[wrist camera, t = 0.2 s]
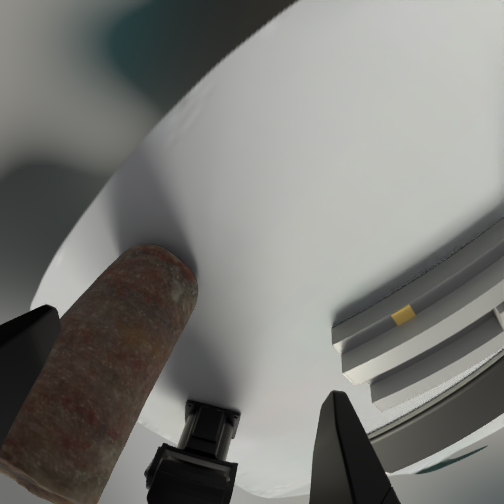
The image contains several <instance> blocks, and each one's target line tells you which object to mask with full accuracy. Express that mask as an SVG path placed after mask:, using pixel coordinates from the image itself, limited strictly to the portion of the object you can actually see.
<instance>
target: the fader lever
mask: <svg viewBox="0 0 504 504" xmlns="http://www.w3.org/2000/svg"><path fill="white" fill-rule="evenodd" d="M493 312H494V315H495V316H496V318H497V320H498V321H499V323H500V325H501V326H502V328H503V330H504V301H503V302H502V303H501V304H499V305H498V306H496V307H495V308H494V309H493Z"/></svg>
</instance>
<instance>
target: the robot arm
mask: <svg viewBox="0 0 504 504" xmlns="http://www.w3.org/2000/svg"><path fill="white" fill-rule="evenodd" d="M60 331H61V322H60V319H59V315H58V311H57V309H56V308H55V307H52V306H50V305H47V304H46V305H43V306H40V307H38V308H36V309H34V310H32V311H30V312H27V313H25V314H23V315H21V316H19V317H17V318H14V319H12V320H10V321H8V322H6V323H4V324H2V325H0V450H1V448H2V446H3V443H4V441H5V439H6V437H7V435H8V433H9V431H10V429H11V427H12V425H13V423H14V421H15V419H16V417H17V415H18V413H19V411H20V409H21V407H22V405H23V403H24V401H25V400H26V398H27V396H28V394H29V392H30V390H31V389H32V387H33V385H34V383H35V381H36V380H37V378H38V376H39V374H40V373H41V371H42V369H43V367H44V365H45V363H46V361H47V359H48V357H49V355H50V352H51V350H52V348H53V346H54V344H55V342H56V340H57V338H58V336H59V333H60ZM240 416H241V415H240V414H239V413H236V412H232V411H228V410H223V409H219V408H215V407H212V406H208V405H204V404H200V403H197V402H193V401H189V400H188V401H187V402H186V405H185V427H184V430H183V432H182V435H181V438H180V441H179V443H178V446H177V448H176V447H173V446H170V445H168V444H166V443H163V445H162V447H158V450H157V452H156V454H155V457H154V459H153V460H152V462H151V463H150V465H149V466H148V468H147V469H146V471H145V473H144V475H145V477H146V479H147V480H146V488H147V489H149V492H148V494H147V502H148V504H229V503H230V499H231V496H232V492H233V487H234V482H235V477H236V472H237V466H238V463H234V462H233V463H231V462H227V461H226V457H227V453H228V449H229V445H230V441H231V439H234V437H235V434H236V431H237V427H238V424H239V420H240ZM309 504H401V503H400V501H399V499H398V498H397V496H396V493H395V491H394V489H393V487H391V483H390V481H389V479H388V477H387V475H386V473H385V471H384V469H383V466H382V464H381V462H380V460H379V458H378V456H377V454H376V452H375V450H374V448H373V446H372V444H371V442H370V440H369V438H368V436H367V434H366V432H365V430H364V428H363V426H362V424H361V422H360V420H359V418H358V416H357V414H356V412H355V410H354V408H353V406H352V404H351V402H350V400H349V398H348V396H347V394H346V393H345V392H342V391H336V390H333V391H331V392H330V394H329V395H328V397H327V398H326V400H325V401H324V403H323V404H322V407H321V410H320V416H319V423H318V428H317V434H316V440H315V445H314V451H313V461H312V476H311V489H310V502H309Z"/></svg>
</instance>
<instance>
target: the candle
mask: <svg viewBox="0 0 504 504" xmlns="http://www.w3.org/2000/svg"><path fill="white" fill-rule="evenodd" d="M197 295H198V286H197V281H196V279H195V277H194V275H193V273H192V271H191V270H190V268H188V267H187V266H186V265H185V264H184V263H183V262H182V261H181V260H180V259H179V258H177V257H176V256H175V255H174V254H172V253H170V252H169V251H168V250H166V249H164V248H162V247H161V246H156V245H147V244H146V245H139V246H138V245H136V246H133V247H131V248H129V249H128V250H126V251H125V252H124V253H123V254H121V255H120V256H119V257H118V258H117V260H115V261H114V262H113V263H112V264H111V265H110V266H109V267H108V268H107V269H106V270H105V271H104V272H103V273H102V274H101V275H100V276H99V277H98V278H97V279H96V280H95V282H94V283H93V284H92V285H91V286H90V287H89V288H88V289H87V290H86V291H85V292H84V293H83V294H82V295H81V296H80V297H79V299H78V300H77V301H76V302H75V303H74V304H73V305H72V306H71V307H70V309H69V310H68V311H67V312H66V313H65V314H64V315H63V316H62V317H61V318H60V322H61V331H60V333H59V336H58V338H57V340H56V342H55V344H54V346H53V348H52V350H51V352H50V355H49V357H48V359H47V361H46V363H45V365H44V367H43V369H42V371H41V373H40V374H39V376H38V378H37V380H36V381H35V383H34V385H33V387H32V389H31V390H30V392H29V394H28V396H27V398H26V400H25V401H24V403H23V405H22V407H21V409H20V411H19V413H18V415H17V417H16V419H15V421H14V423H13V425H12V427H11V429H10V431H9V433H8V435H7V437H6V439H5V441H4V443H3V446H2V448H1V450H0V473H1V474H3V475H4V476H7V477H9V478H11V479H13V480H15V481H16V482H17V483H18V484H20V485H22V486H23V487H25V488H26V489H27V490H28V491H29V492H31V493H33V494H34V495H36V496H38V497H40V498H44V499H46V500H48V501H50V502H52V503H54V504H97V503H98V501H99V499H100V497H101V494H102V492H103V490H104V488H105V486H106V484H107V482H108V480H109V478H110V475H111V473H112V471H113V468H114V466H115V464H116V462H117V460H118V458H119V456H120V454H121V452H122V451H123V449H124V447H125V445H126V442H127V440H128V438H129V435H130V433H131V431H132V429H133V427H134V425H135V423H136V421H137V419H138V417H139V415H140V412H141V410H142V408H143V406H144V404H145V402H146V400H147V398H148V396H149V394H150V392H151V391H152V389H153V387H154V385H155V383H156V381H157V379H158V377H159V375H160V373H161V371H162V369H163V367H164V365H165V363H166V362H167V360H168V358H169V356H170V354H171V352H172V350H173V348H174V346H175V344H176V342H177V340H178V339H179V337H180V335H181V333H182V331H183V329H184V327H185V325H186V323H187V321H188V319H189V317H190V315H191V313H192V311H193V310H194V307H195V305H196V301H197Z"/></svg>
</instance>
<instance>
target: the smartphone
mask: <svg viewBox="0 0 504 504" xmlns="http://www.w3.org/2000/svg"><path fill="white" fill-rule="evenodd" d="M503 413H504V350H503V351H502V352H500V353H499V354H498V355H497V356H495V357H494V358H493V359H491V360H490V361H489V362H488V363H486V364H485V365H484V366H482V367H481V368H480V369H478V370H477V371H475V372H474V373H473V374H471V375H470V376H468V377H467V378H466V379H464V380H463V381H461V382H460V383H458V384H457V385H455V386H454V387H452V388H451V389H449V390H448V391H446V392H445V393H443V394H441V395H440V396H438V397H437V398H435V399H433V400H432V401H430V402H429V403H427V404H425V405H423V406H422V407H420V408H418V409H417V410H415V411H413V412H411V413H410V414H408V415H406V416H404V417H402V418H400V419H399V420H397V421H395V422H393V423H391V424H389V425H387V426H385V427H383V428H381V429H379V430H377V431H375V432H373V433H371V434H369V435H367V436H368V438H369V440H370V442H371V444H372V446H373V448H374V450H375V452H376V454H377V456H378V458H379V460H380V462H381V464H382V466H383V469H384V471H385V473H386V474H390V473H393V472H395V471H398V470H400V469H402V468H405V467H407V466H409V465H412V464H414V463H416V462H418V461H420V460H422V459H424V458H427V457H429V456H431V455H433V454H435V453H437V452H439V451H441V450H443V449H444V448H446V447H448V446H450V445H452V444H454V443H456V442H457V441H459V440H461V439H463V438H464V437H466V436H468V435H470V434H471V433H473V432H475V431H476V430H478V429H480V428H481V427H483V426H484V425H486V424H487V423H489V422H491V421H492V420H494V419H495V418H497V417H498V416H500V415H501V414H503Z"/></svg>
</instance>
